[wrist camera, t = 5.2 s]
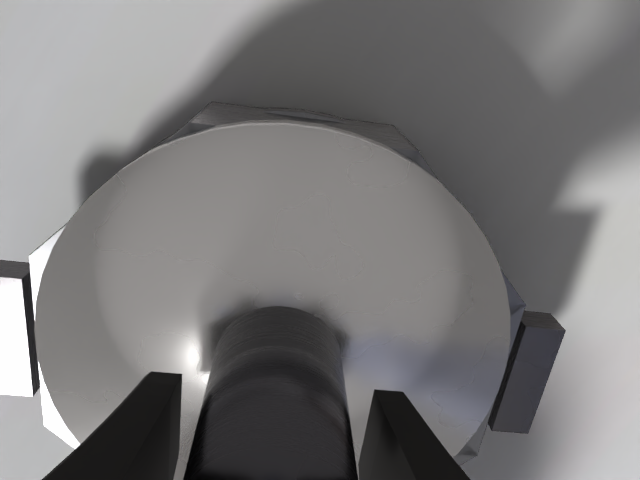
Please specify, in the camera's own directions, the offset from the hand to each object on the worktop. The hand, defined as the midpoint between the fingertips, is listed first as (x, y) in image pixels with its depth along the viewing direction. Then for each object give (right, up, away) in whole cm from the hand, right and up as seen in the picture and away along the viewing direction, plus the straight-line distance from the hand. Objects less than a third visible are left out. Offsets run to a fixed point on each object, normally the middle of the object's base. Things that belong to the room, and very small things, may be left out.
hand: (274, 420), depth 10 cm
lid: (0, +2, +2) cm, 3 cm away
